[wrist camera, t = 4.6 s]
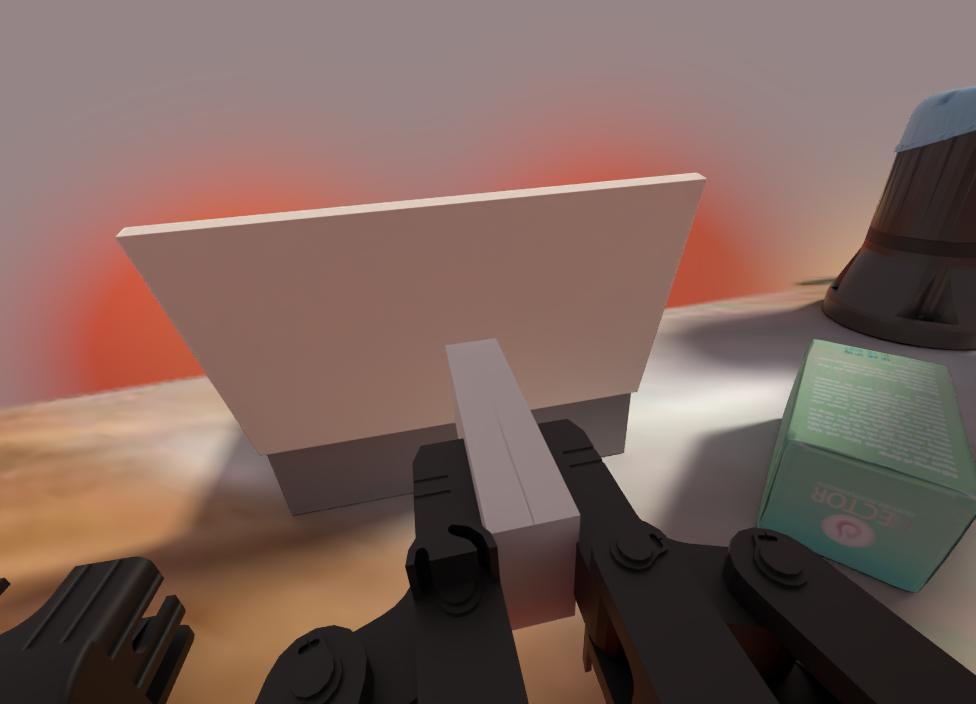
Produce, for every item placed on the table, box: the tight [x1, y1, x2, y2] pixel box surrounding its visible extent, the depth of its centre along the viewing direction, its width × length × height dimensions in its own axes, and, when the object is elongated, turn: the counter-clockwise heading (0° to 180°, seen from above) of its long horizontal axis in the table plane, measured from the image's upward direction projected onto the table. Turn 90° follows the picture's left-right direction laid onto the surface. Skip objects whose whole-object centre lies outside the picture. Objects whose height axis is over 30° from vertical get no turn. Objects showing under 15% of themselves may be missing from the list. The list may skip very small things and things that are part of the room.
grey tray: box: [267, 393, 631, 515], centre depth 35 cm, size 24×14×6 cm, turn 101°
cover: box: [115, 173, 707, 456], centre depth 22 cm, size 24×14×1 cm
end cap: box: [0, 557, 195, 704], centre depth 17 cm, size 10×7×7 cm
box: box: [756, 339, 976, 593], centre depth 26 cm, size 7×14×8 cm, turn 142°
